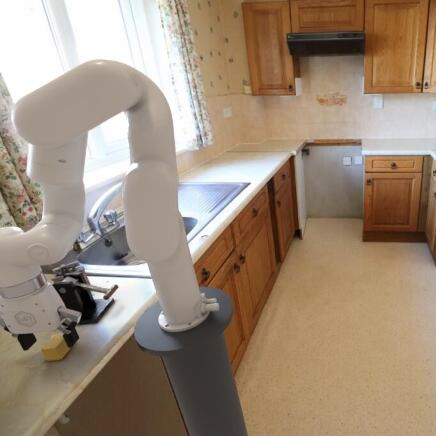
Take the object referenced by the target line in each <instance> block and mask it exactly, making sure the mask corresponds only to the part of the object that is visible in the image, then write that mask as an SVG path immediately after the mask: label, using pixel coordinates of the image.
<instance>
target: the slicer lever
mask: <svg viewBox="0 0 436 436" xmlns="http://www.w3.org/2000/svg"><path fill="white" fill-rule="evenodd" d="M67 281H73V283H74V285H75V288H79V289H84V290H89V291H91V292H94V293H100V294H104V295H103V296H102V299H104V300H108V299H109V298H112V296H113V295H114V293H116V291H118V289H119V285H118V284H113V285H112V286H111V287H110V288H107V287H102V286H96V285H92V284H91V285H88V284H83V283H79V279H76V278H71V277H66V278H65V279H64V280H63V281H62V282H67Z"/></svg>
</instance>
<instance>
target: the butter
mask: <svg viewBox="0 0 436 436" xmlns="http://www.w3.org/2000/svg"><path fill="white" fill-rule="evenodd" d="M63 334H64V333H63ZM63 334H53V336H52V337H51V338H50V339H49V340H48V341H47V342H46V343H45V344H44V346H42V348H41V349H40V351H41V352H42V354H43V356H44V358H45V359H46V361H49V362H50V361H60V360H63V359H64V358H65V356H66V355H67V353H69V351H70V350H71V349H72V348H68V346H67V344H66V342H65V340H64V338H63Z"/></svg>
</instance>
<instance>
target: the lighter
mask: <svg viewBox="0 0 436 436" xmlns="http://www.w3.org/2000/svg"><path fill="white" fill-rule="evenodd" d="M52 272H53V273H54V274H53V275H51V276H50V281H51V282H52V283H53V284H54V283H55V282H62V281H63V280H64V277H63V275H64V274H65V273H78V272H82V273H83V275H84V278H85V280H86V282H87V284H88V285H92V284H91V282H90V279H89V278H88V275H87V273H86V269H85V267H84V266H80V261H78V260H76V261H73V262H70V263H68V264H66V263H64V264H60V266H58V267H55V268H53V269H52Z"/></svg>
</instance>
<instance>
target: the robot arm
mask: <svg viewBox="0 0 436 436" xmlns="http://www.w3.org/2000/svg"><path fill="white" fill-rule="evenodd" d="M11 109H12V110H11V112H10V121H11V125H12V127H13V130H14V131H15V132H16V134H17V135H18V136H19V137H20V138H21V139H22V140H24V141H25V142H26V143H27V157H26V170H25V172H26V176H27V178H29V180H31V181H32V182H34V183H36V184H38V185H39V186H40V188H41V190H42V196H43V202H42V203H43V204H42V205H43V206H42V214H41V220H40V221H38V222H37V223H36V225H34V226H33V227H32V228H31V229H29V230H27V231H24V230H23V229H22V228H20V227H17V226H4V227H0V314H1V316H0V327H1V328H3V330H4V331H5V332H8V333H10V334H11V337H12V338H16V340H17V341H18V344H19V346H20V347H21V348H22V351H24V352H26V351H29V350H30V349H31V348H32V347H33V345H35V344H36V343H37V341H38V339H37V338H36V335H35V334H41V333H42V334H43V333H52V332H55V331H57V330H58V331H59V332H61V333H63V338H64V340H65V342H66V344H67V346H68V348H71V349H72V348H73V347H74V345H76V343H78V341H79V340H80V335H79V332H78V330H77V328H76V327H77V326H78V325H77V324H78V323H79V322H80V318H81V313H80V312H77V311H74V310H70V309H67V308H66V307H65V305H64V303H63V301H62V299H61V298H60V296H59V294H58V293H57V291H56V290H55V289H54V287H53V286H52V285H53V284H51V283H50V282H48V279H47V278H46V276H45V274H44V271H43V268H42V267H41V266H49V265H55V264H57V263H59V262H60V261H62V260H63V259H64V258H65V257H66V256H67V255H68V253H69V252H70V251H71V249H72V247H73V245H74V244H75V243H76V242H77V240H78V239H79V238H80V236H81V234H82V231H83V227H84V221H85V220H84V219H85V212H86V190H85V189H86V187H85V182H84V175H85V166H86V156H87V149H88V148H87V147H88V139H89V132H90V131H92V130H93V129H95V128H98V126H101V125H102V124H103V123H106V122H107V121H108V120H110V119H112V118H115V117H116V116H118V115H119V114H122V113H124V116H125V119H126V129H127V131H126V132H127V142H128V148H129V169H128V170H127V172H126V173H125V175H124V176H123V180H122V181H121V196H120V197H121V206H122V212H123V219H124V220H123V221H124V230H125V237H126V242H127V246H128V248H129V250H130V252H131V253H132V255H134V257H136V258H137V259H139V260H140V261H142V262H145V263H146V266H147V268H148V272H149V275H150V278H151V281H152V283H153V286H154V291H155V293H156V296H157V298H158V300H159V302H160V305H161V308H162V312H161V314H160V316H159V319H158V321H159V325H160V327H161V328H162V329H163V330H165V331H168V332H182V331H186V330H189V329H191V328H194V327H196V326H197V325H199V324H200V323H202V322H203V321H204V320H205V319H206V318H207V317H208V315H209V313H210V311H219V303H217V299H216V298H214V299H207V298H206V297H205V293H200V289H199V287H200V286H199V285H200V284H199V282H198V278H197V273H196V270H195V266H194V263H193V259H192V258H193V257H192V254H191V250H190V247H189V246H190V245H189V242H188V237H187V231H186V226H185V221H184V218H183V215H182V213H181V211H180V208H179V188H180V187H179V185H180V176H179V171H178V167H177V166H178V165H177V163H178V162H177V152H176V151H177V150H176V149H177V148H176V140H175V129H174V128H175V127H174V119H173V114H172V110H171V107H170V104H169V102H168V99H167V98H166V96H165V94H164V93H163V90H161V89H160V87H159V86H158V85H157V83H155V81H153V80H152V79H151V78H150V77H148V76H147V75H146V74H144V73H143V72H142V71H140V70H139V69H137V68H135V67H133V66H131V65H129V64H127V63H125V62H122V61H117V60H111V59H104V58H103V59H102V58H100V59H99V58H97V59H91V60H90V59H89V60H88V61H85V62H83V63H80V64H78V65H77V66H74V67H73V68H72V69H70V70H68V71H66V72H64V73H63V74H60V75H59V76H58V77H55V78H54V79H53V80H50V81H48V82H47V83H46V84H44V85H42V86H40V87H38V88H36V89H35V90H32V91H31V92H28V93H27V94H25V95H24V96H22V97H20V98H19V99H18V100H17V101H16V102H15V103H14V105H13V106H12V108H11ZM69 318H70V319H69ZM60 320H61V321H60ZM63 322H64V323H66V324H68V325H67V326H63V325H62V323H63Z"/></svg>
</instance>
